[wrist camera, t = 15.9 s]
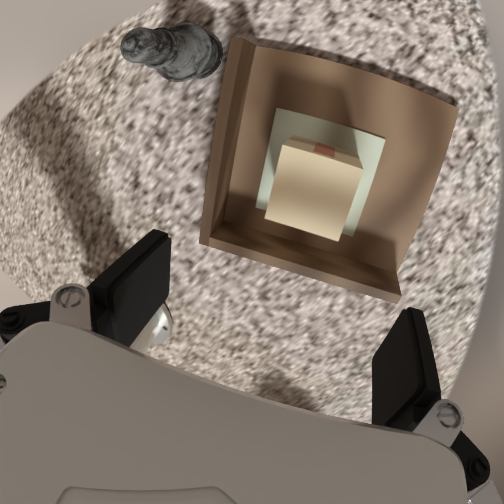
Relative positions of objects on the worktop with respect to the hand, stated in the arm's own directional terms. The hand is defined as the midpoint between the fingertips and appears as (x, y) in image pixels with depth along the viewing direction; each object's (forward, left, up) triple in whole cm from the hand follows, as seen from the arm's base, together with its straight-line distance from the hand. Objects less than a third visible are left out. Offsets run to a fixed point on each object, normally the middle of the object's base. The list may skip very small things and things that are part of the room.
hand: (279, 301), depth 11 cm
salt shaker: (-14, +9, -20) cm, 26 cm away
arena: (+1, +1, -20) cm, 20 cm away
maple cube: (0, 0, -19) cm, 19 cm away
